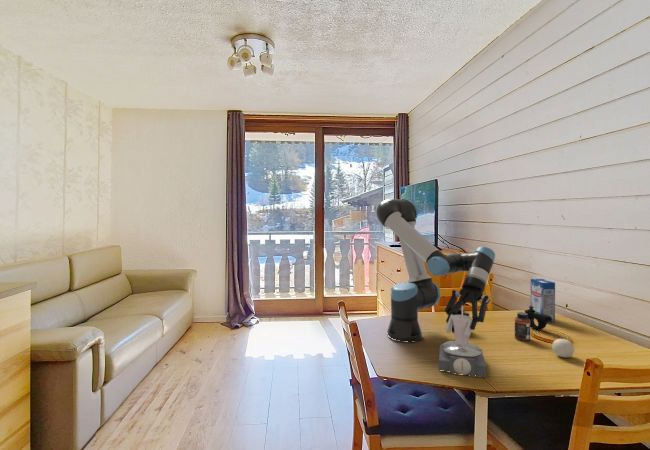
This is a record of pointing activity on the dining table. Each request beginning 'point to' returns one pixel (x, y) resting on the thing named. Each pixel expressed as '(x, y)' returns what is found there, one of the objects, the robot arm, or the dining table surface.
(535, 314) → the controller
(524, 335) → the supplement bottle
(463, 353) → the scale pan
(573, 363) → the dining table surface
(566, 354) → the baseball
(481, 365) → the scale base
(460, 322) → the smoothie
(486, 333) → the dining table surface
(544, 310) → the milk carton
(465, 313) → the speaker
